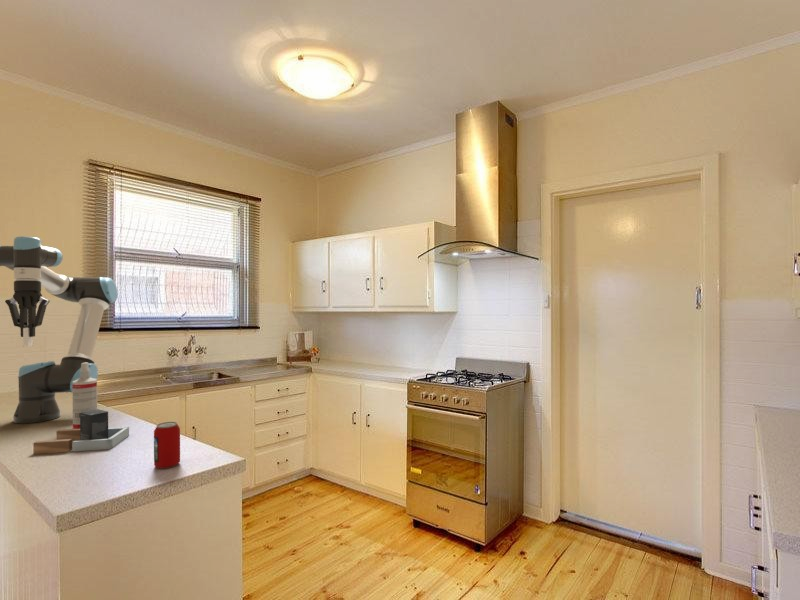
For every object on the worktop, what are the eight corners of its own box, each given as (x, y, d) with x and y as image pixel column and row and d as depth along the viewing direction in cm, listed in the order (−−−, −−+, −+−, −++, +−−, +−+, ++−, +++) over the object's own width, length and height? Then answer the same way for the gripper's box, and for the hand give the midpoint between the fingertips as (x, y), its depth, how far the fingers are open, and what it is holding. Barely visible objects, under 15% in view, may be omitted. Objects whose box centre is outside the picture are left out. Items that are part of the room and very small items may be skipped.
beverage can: (160, 461, 133) (160, 421, 133) (184, 460, 133) (183, 420, 133) (149, 470, 126) (149, 427, 126) (174, 469, 126) (174, 427, 127)
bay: (94, 437, 158) (94, 429, 158) (129, 435, 160) (129, 427, 160) (72, 451, 143) (72, 441, 143) (110, 448, 145) (110, 439, 145)
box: (108, 442, 152) (108, 411, 152) (90, 446, 148) (89, 414, 148) (98, 438, 157) (97, 408, 157) (79, 442, 152) (79, 411, 152)
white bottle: (96, 429, 168) (96, 363, 168) (72, 432, 164) (71, 364, 164) (97, 424, 174) (97, 360, 175) (74, 427, 171) (73, 362, 171)
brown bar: (59, 439, 156) (59, 429, 156) (91, 437, 157) (91, 427, 157) (33, 454, 141) (33, 442, 141) (69, 451, 143) (69, 440, 143)
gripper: (-1, 279, 155) (-1, 347, 155) (42, 279, 157) (42, 346, 157) (13, 280, 162) (13, 345, 162) (54, 280, 165) (54, 344, 164)
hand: (28, 346), depth 159 cm, fingers closed
